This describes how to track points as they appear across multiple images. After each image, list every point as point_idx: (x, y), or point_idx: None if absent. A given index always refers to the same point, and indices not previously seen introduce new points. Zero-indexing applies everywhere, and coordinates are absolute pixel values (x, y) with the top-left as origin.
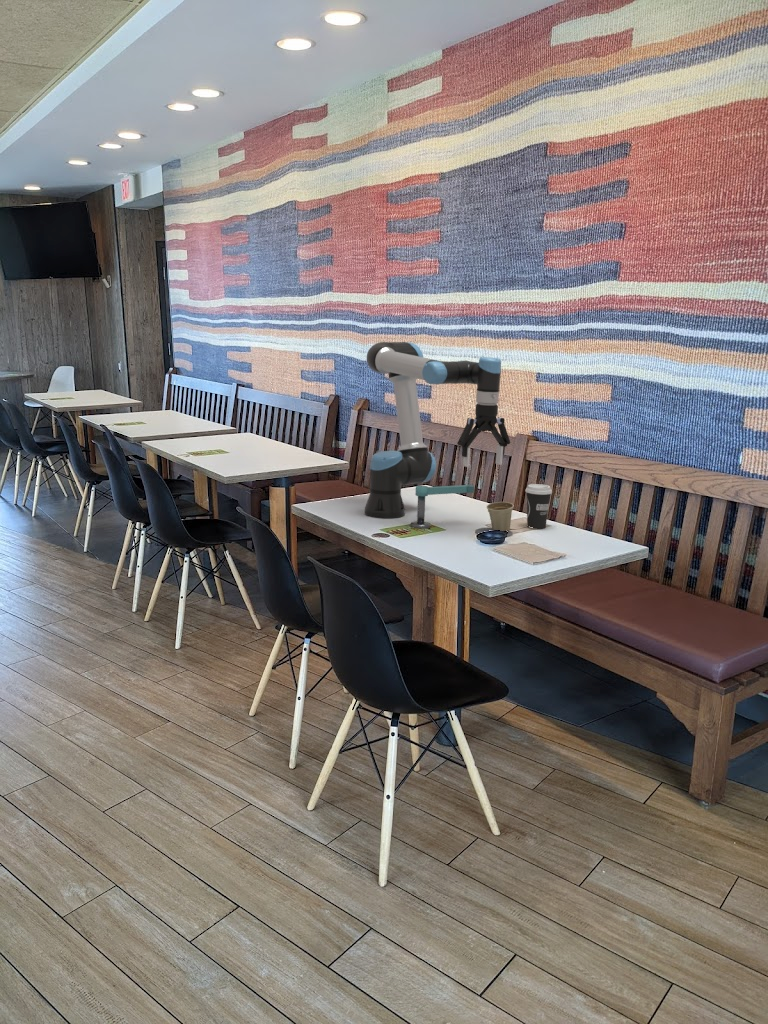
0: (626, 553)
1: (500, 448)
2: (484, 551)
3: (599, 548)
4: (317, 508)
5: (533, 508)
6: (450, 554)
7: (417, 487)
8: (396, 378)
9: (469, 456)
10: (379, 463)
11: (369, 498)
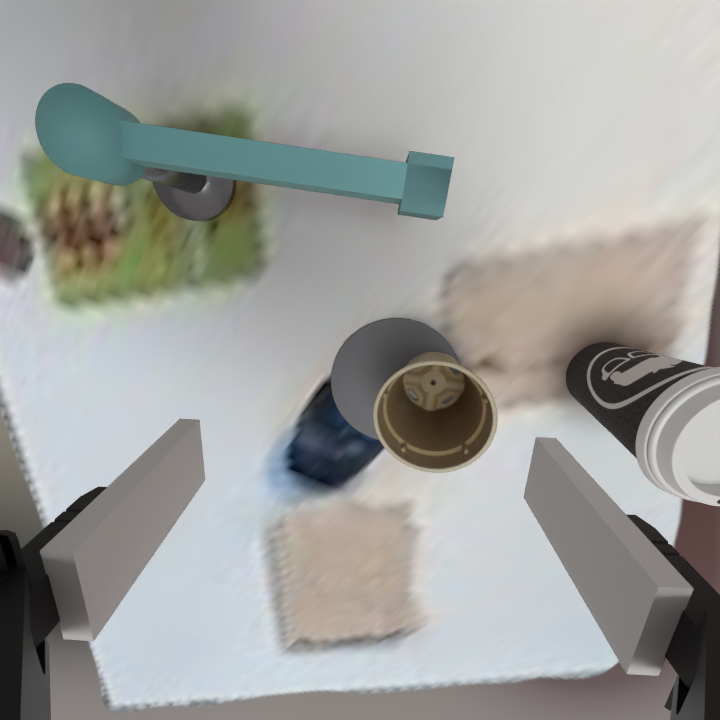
0: (570, 675)
1: (614, 627)
2: (239, 528)
3: (550, 624)
4: None
5: (605, 423)
6: None
7: (39, 140)
8: None
9: (153, 549)
10: None
11: None
